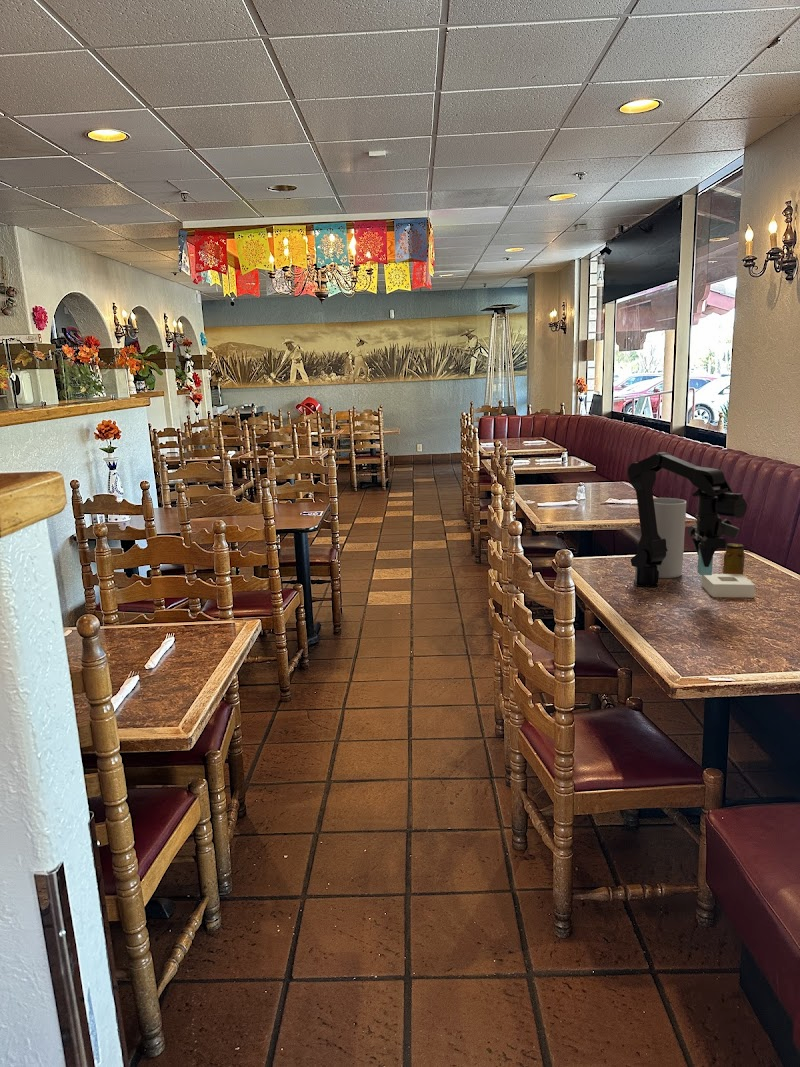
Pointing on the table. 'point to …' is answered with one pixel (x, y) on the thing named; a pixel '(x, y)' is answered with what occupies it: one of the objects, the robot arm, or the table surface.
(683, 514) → the cylinder vase
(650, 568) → the robot arm
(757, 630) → the table surface
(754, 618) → the table surface
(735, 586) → the socket block
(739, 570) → the condiment
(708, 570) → the peg
